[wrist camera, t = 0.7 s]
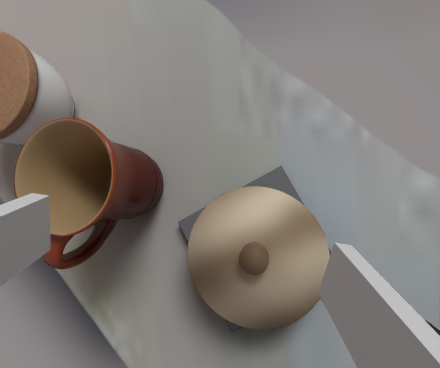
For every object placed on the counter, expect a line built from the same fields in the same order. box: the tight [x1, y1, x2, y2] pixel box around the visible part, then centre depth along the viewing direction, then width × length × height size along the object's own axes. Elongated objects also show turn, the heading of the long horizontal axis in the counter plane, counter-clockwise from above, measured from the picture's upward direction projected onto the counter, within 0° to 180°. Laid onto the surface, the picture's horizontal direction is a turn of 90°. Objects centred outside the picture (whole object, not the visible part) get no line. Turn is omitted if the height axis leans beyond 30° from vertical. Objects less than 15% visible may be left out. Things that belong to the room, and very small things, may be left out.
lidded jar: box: [0, 32, 74, 145], centre depth 26 cm, size 11×11×9 cm
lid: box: [188, 186, 330, 330], centre depth 21 cm, size 12×12×4 cm
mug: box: [14, 118, 163, 269], centre depth 22 cm, size 12×9×10 cm
